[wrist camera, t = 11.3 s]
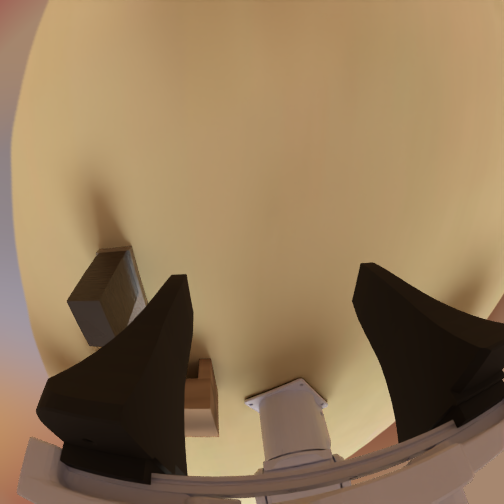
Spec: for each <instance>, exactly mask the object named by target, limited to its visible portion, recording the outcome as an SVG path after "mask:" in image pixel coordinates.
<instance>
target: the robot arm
mask: <svg viewBox="0 0 504 504" xmlns="http://www.w3.org/2000/svg"><path fill="white" fill-rule="evenodd" d="M352 302H353V305H354V308H355V312H356V314H357V317H358V320H359V322H360V324H361V326H362V328H363V330H364V332H365V334H366V336H367V338H368V340H369V342H370V344H371V346H372V348H373V350H374V352H375V354H376V356H377V358H378V360H379V363H380V365H381V367H382V370H383V373H384V376H385V380H386V383H387V386H388V390H389V393H390V397H391V401H392V405H393V410H394V415H395V420H396V427H397V434H398V442H399V444H396V445H393V446H391V447H388V448H385V449H382V450H379V451H376V452H372V453H369V454H366V455H362V456H359V457H355V458H352V459H348V460H344V458H343V457H341V456H339V455H338V454H333V455H332V453H331V449H330V447H331V440H330V436H329V433H328V429H327V425H326V422H325V418H324V414H323V411H322V409H323V408H325V407H327V406H328V403H327V402H326V401H325V400H324V399H323V398H322V397H321V396H320V395H319V394H318V393H317V392H316V391H315V390H314V389H313V388H312V387H311V386H310V385H309V384H308V383H307V382H306V381H305V380H304V379H301V378H300V379H297V380H294V381H292V382H290V383H287V384H285V385H283V386H280V387H278V388H275V389H273V390H270V391H268V392H265V393H262V394H260V395H257V396H254V397H252V398H249V399H246V400H245V404H246V405H248V406H249V407H251V408H252V409H254V410H255V411H257V412H258V413H259V415H260V423H261V431H262V439H263V447H264V455H265V461H264V462H263V466H264V468H260V469H258V471H257V472H256V473H255V474H254V475H248V476H224V477H204V476H188V475H187V464H186V450H185V422H184V403H185V382H186V374H187V368H188V361H189V355H190V348H191V342H192V336H193V308H192V303H191V297H190V292H189V286H188V280H187V274H181V275H171V276H170V277H169V279H168V280H167V281H166V282H165V283H164V285H163V286H162V287H161V289H160V290H159V291H158V292H157V294H156V295H155V296H154V297H153V298H152V300H151V301H150V302H149V303H148V304H147V306H146V307H145V308H144V309H143V310H142V311H141V312H140V313H139V314H138V316H137V317H136V318H135V319H134V320H133V321H132V322H131V323H130V324H129V325H128V326H127V327H126V328H125V329H124V330H123V331H121V332H120V333H119V334H118V335H117V336H116V337H115V338H113V339H112V340H111V341H109V342H108V343H107V344H106V345H104V346H103V347H102V348H100V349H99V350H98V351H96V352H95V353H93V354H92V355H90V356H89V357H87V358H86V359H84V360H83V361H81V362H79V363H78V364H76V365H74V366H73V367H71V368H69V369H67V370H65V371H63V372H61V373H59V374H57V375H55V376H53V377H51V378H49V379H48V380H47V383H46V385H45V388H44V390H43V393H42V395H41V398H40V400H39V403H38V406H37V409H36V413H37V415H38V417H39V419H40V420H41V422H43V424H44V425H45V426H46V427H47V428H49V429H50V430H51V431H52V432H53V433H54V434H55V435H56V436H58V437H59V438H60V439H61V440H62V441H64V444H63V448H62V449H61V448H60V447H57V446H56V445H53V444H50V443H48V442H45V441H42V440H39V439H36V438H34V437H30V439H29V443H28V446H27V450H26V453H25V457H24V461H23V465H22V469H21V474H20V478H19V483H18V488H17V493H18V495H20V496H22V497H23V498H26V499H27V500H29V501H31V502H33V503H35V504H241V501H240V500H238V499H223V498H250V497H255V498H256V503H257V504H468V501H467V498H466V495H465V492H464V490H463V487H464V486H466V485H467V484H469V483H470V482H471V481H472V480H473V478H474V476H475V473H476V472H477V471H479V470H480V469H481V468H483V467H484V466H485V465H487V464H488V463H489V462H490V461H492V460H493V459H494V458H495V457H496V456H498V455H499V454H500V453H501V452H502V451H503V450H504V382H503V380H502V379H503V378H504V372H503V371H502V369H503V368H504V324H503V323H499V322H494V321H490V320H486V319H482V318H479V317H476V316H473V315H470V314H467V313H465V312H462V311H459V310H457V309H455V308H452V307H450V306H448V305H446V304H444V303H442V302H440V301H438V300H436V299H434V298H432V297H430V296H428V295H427V294H425V293H423V292H421V291H420V290H418V289H416V288H415V287H413V286H411V285H410V284H408V283H407V282H405V281H403V280H402V279H400V278H399V277H397V276H395V275H394V274H392V273H391V272H389V271H387V270H386V269H384V268H382V267H381V266H379V265H377V264H375V263H361V264H360V269H359V273H358V278H357V282H356V287H355V291H354V295H353V299H352ZM415 457H416V458H415ZM413 458H414V459H413ZM411 459H412V460H411ZM408 460H411V461H410V462H409V463H408V464H407V465H406V466H404V467H403V468H401V469H399V470H396V471H394V472H391V473H388V474H385V475H382V476H379V477H377V478H374V479H371V480H368V481H365V482H361V483H358V484H355V485H351V480H354V479H358V478H361V477H364V476H367V475H370V474H374V473H376V472H379V471H382V470H385V469H388V468H391V467H393V466H396V465H398V464H401V463H403V462H405V461H408Z"/></svg>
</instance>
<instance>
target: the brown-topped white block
mask: <svg viewBox="0 0 504 504" xmlns="http://www.w3.org/2000/svg"><path fill="white" fill-rule="evenodd" d="M96 255H97V256H96V257H95V259H94V260H93V262H92V263H91V265H90V266H89V267H88V269H87V270H86V272H85V273H84V275H83V276H82V278H81V279H80V281H79V282H78V284H77V285H76V287H75V289H74V290H73V292H72V293H71V295H70V297H69V298H68V300H67V303H68V305H69V307H70V309H71V311H72V313H73V315H74V317H75V319H76V321H77V323H78V325H79V327H80V329H81V331H82V333H83V335H84V337H85V338H86V340H87V342H88V344H89V346H99V347H103V346H104V345H106V344H107V343H108V342H109V341H111V340H112V339H113V338H115V337H116V336H117V335H118V334H119V333H120V332H121V331H123V330H124V329H125V328H126V327H127V326H128V325H129V324H130V323H131V322H132V321H133V320H134V319H135V318H136V317H137V316H138V314H139V313H140V312H141V311H142V310H143V309H144V308H145V307H146V306H147V304H148V302H147V298H146V295H145V292H144V289H143V285H142V282H141V278H140V275H139V271H138V268H137V264H136V261H135V257H134V253H133V249H132V246H129V247H117V248H106V249H99V250H98V251H97V252H96Z"/></svg>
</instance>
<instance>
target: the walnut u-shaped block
mask: <svg viewBox="0 0 504 504" xmlns="http://www.w3.org/2000/svg"><path fill="white" fill-rule="evenodd" d="M184 422H185V437H219V422H218V391H217V387H216V382H215V377H214V372H213V367H212V362H211V359H199V374H198V379H186V382H185V403H184Z"/></svg>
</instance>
